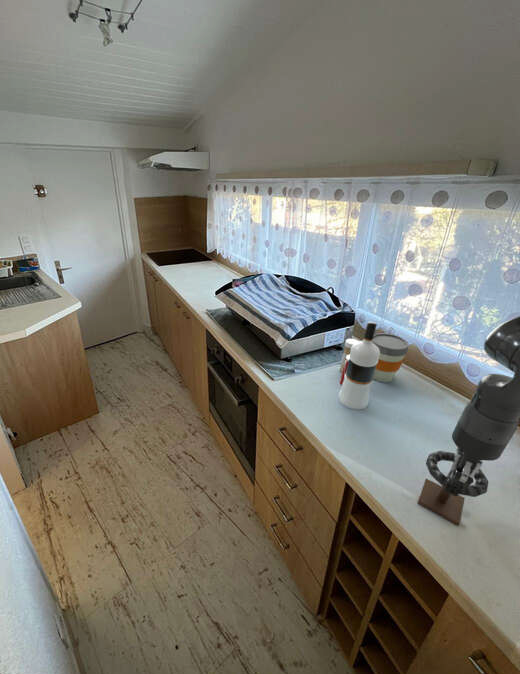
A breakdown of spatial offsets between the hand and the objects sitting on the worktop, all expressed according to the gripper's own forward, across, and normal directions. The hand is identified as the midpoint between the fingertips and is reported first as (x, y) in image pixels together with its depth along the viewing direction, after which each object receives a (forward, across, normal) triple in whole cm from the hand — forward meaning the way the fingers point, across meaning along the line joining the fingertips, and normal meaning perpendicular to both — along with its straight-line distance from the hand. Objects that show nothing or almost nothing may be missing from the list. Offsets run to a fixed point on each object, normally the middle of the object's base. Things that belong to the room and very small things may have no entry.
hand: (451, 488), depth 65 cm
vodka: (+10, +27, +29) cm, 41 cm away
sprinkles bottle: (+10, +44, +38) cm, 59 cm away
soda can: (+10, +35, +34) cm, 50 cm away
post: (+10, +5, 0) cm, 11 cm away
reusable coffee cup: (+10, +50, +27) cm, 57 cm away
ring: (-1, +4, 0) cm, 4 cm away
